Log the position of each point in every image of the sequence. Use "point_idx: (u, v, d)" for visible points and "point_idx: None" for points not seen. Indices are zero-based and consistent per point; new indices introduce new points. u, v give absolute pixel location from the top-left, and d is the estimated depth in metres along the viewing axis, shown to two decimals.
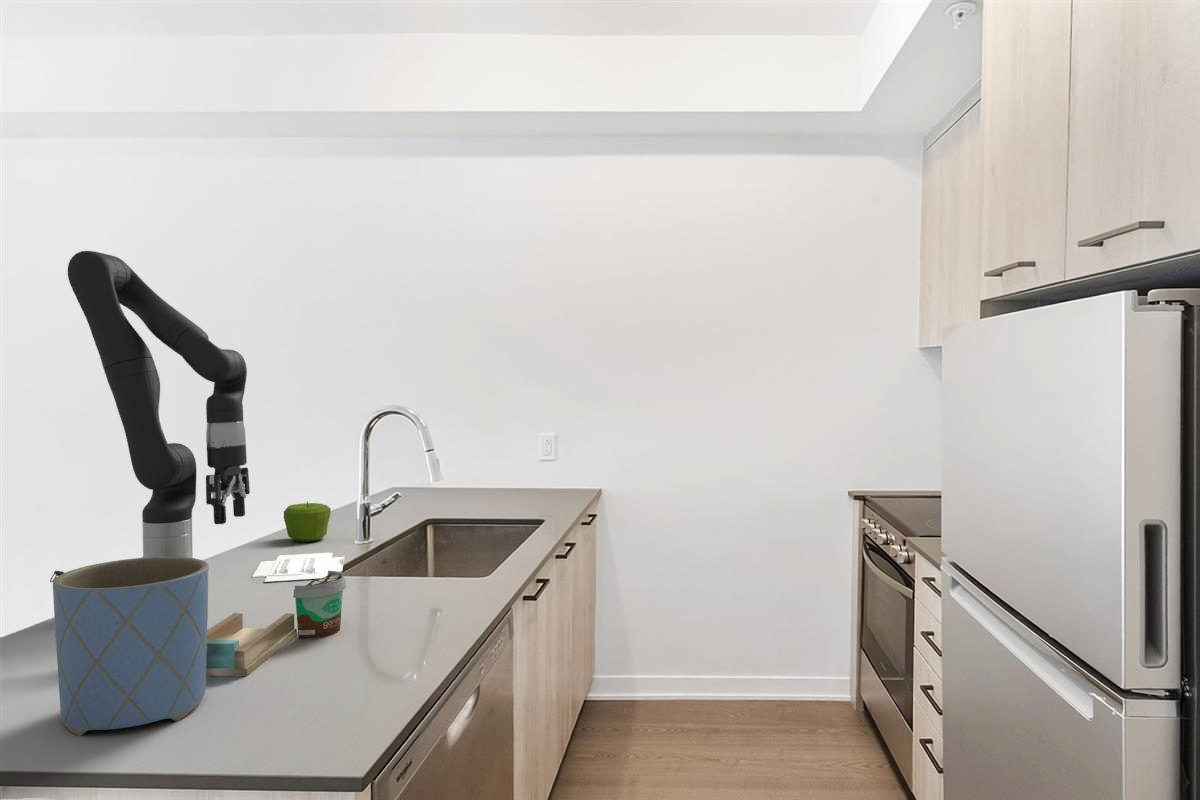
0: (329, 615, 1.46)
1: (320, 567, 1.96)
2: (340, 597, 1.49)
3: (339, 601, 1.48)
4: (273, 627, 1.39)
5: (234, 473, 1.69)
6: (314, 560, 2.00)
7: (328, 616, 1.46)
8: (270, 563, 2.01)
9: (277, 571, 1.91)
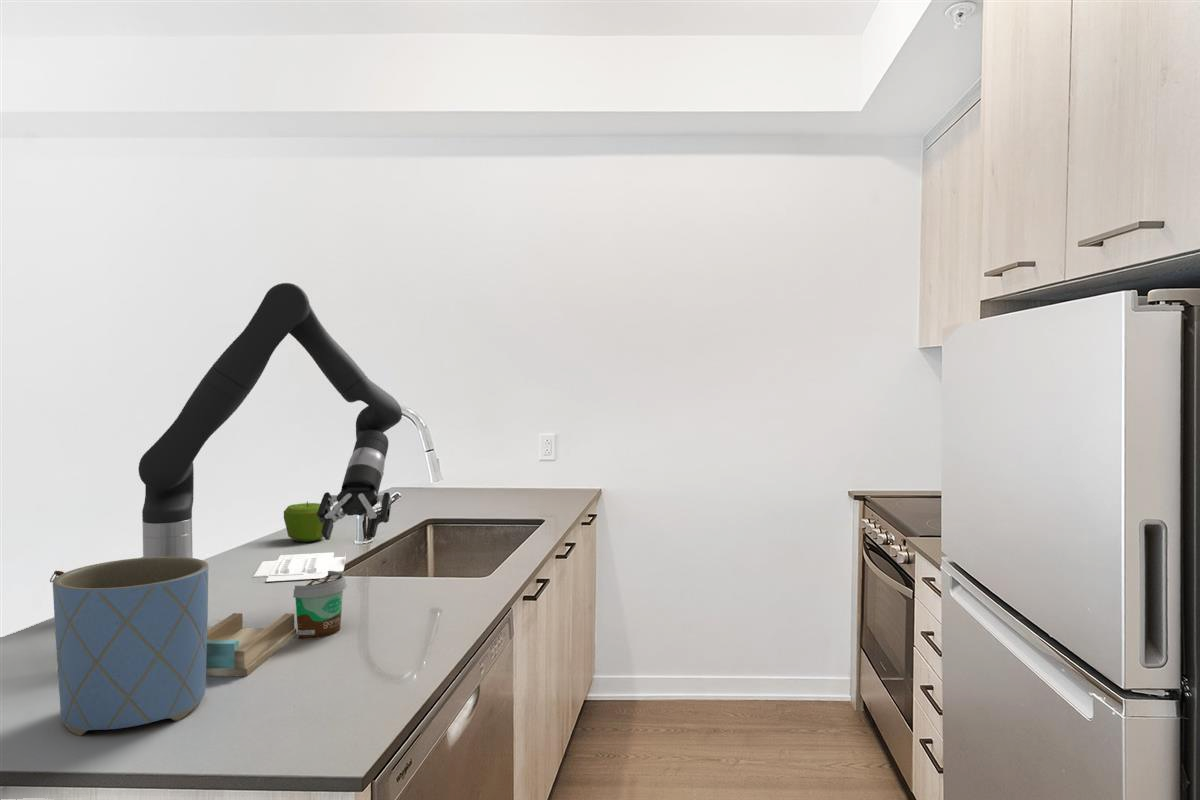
0: (329, 615, 1.46)
1: (321, 567, 1.96)
2: (340, 597, 1.49)
3: (339, 601, 1.48)
4: (273, 627, 1.39)
5: None
6: (315, 560, 2.01)
7: (328, 616, 1.46)
8: (271, 563, 2.01)
9: (278, 571, 1.91)
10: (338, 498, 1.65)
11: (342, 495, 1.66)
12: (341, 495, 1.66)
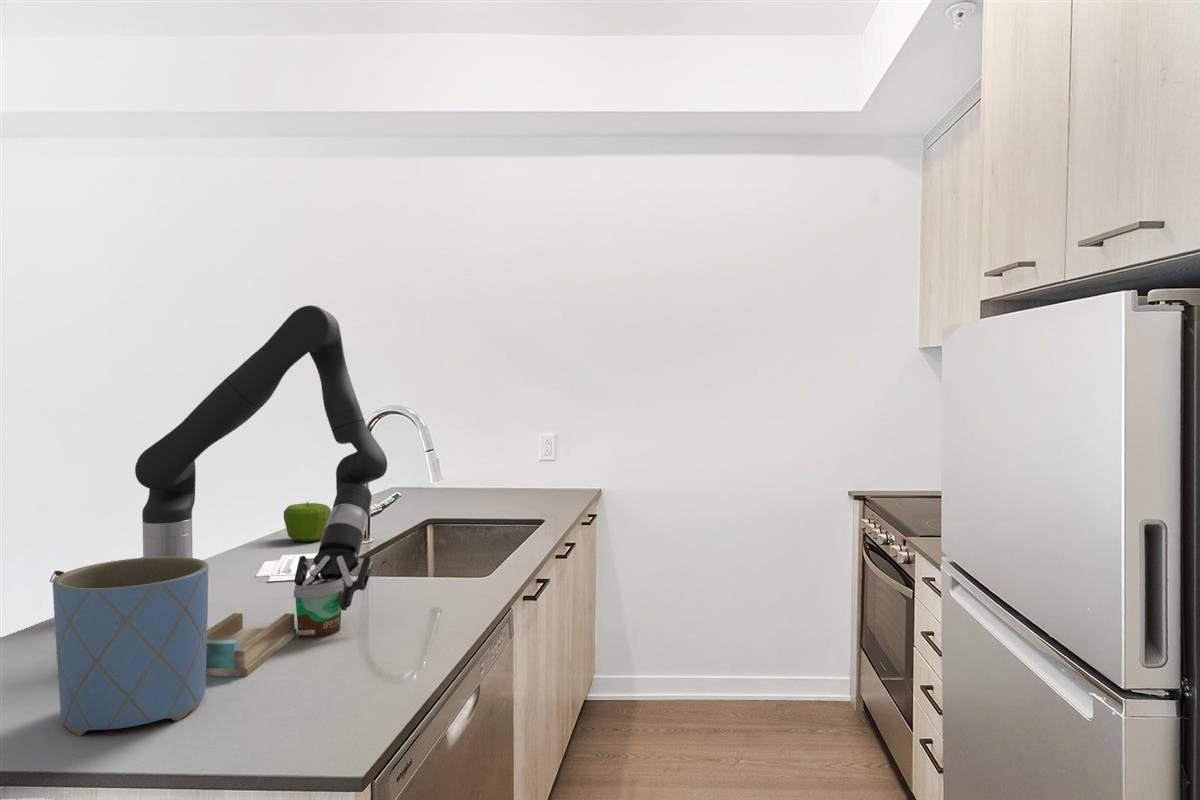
0: (329, 615, 1.46)
1: None
2: (340, 597, 1.49)
3: (339, 601, 1.48)
4: (273, 627, 1.39)
5: None
6: None
7: (328, 616, 1.46)
8: (274, 563, 2.02)
9: (280, 571, 1.91)
10: (315, 561, 1.53)
11: (319, 557, 1.53)
12: (318, 557, 1.53)
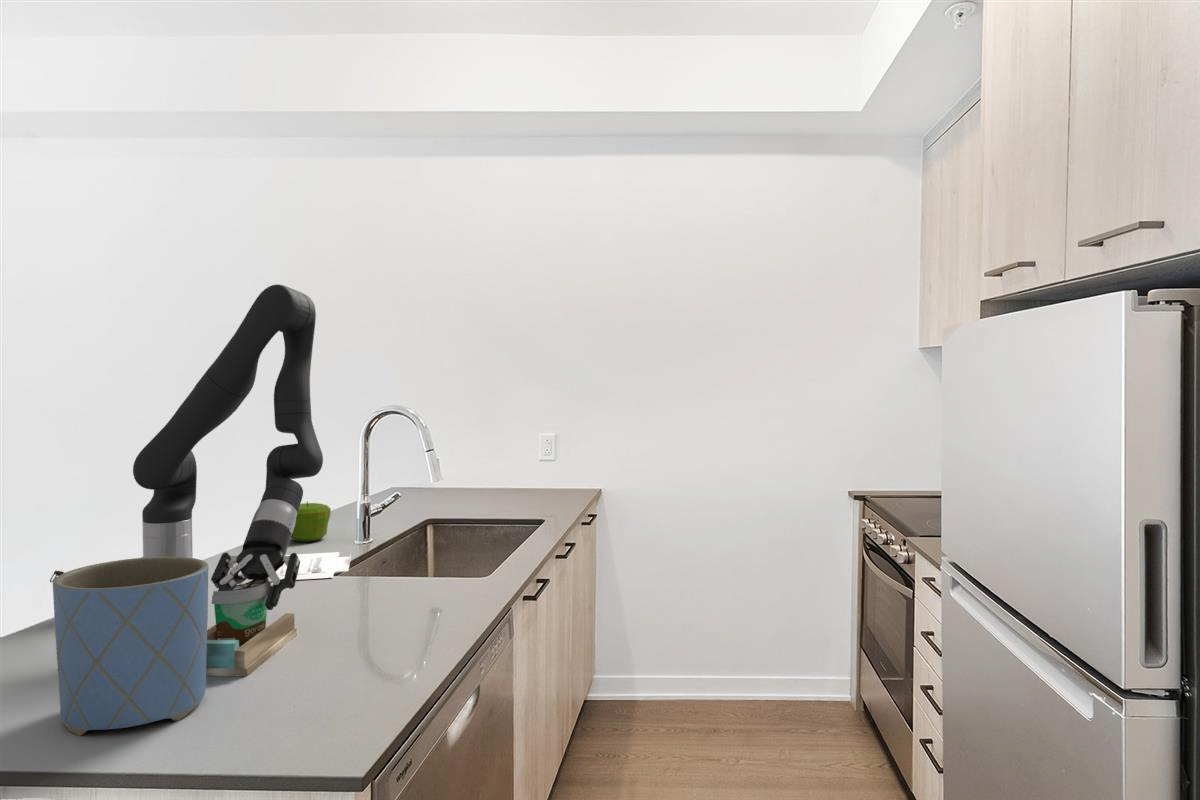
0: (251, 622, 1.38)
1: (326, 567, 1.97)
2: (264, 603, 1.41)
3: (263, 607, 1.40)
4: (273, 627, 1.39)
5: None
6: (321, 560, 2.01)
7: (250, 623, 1.38)
8: None
9: (284, 570, 1.91)
10: (238, 559, 1.44)
11: (242, 556, 1.45)
12: (241, 556, 1.45)
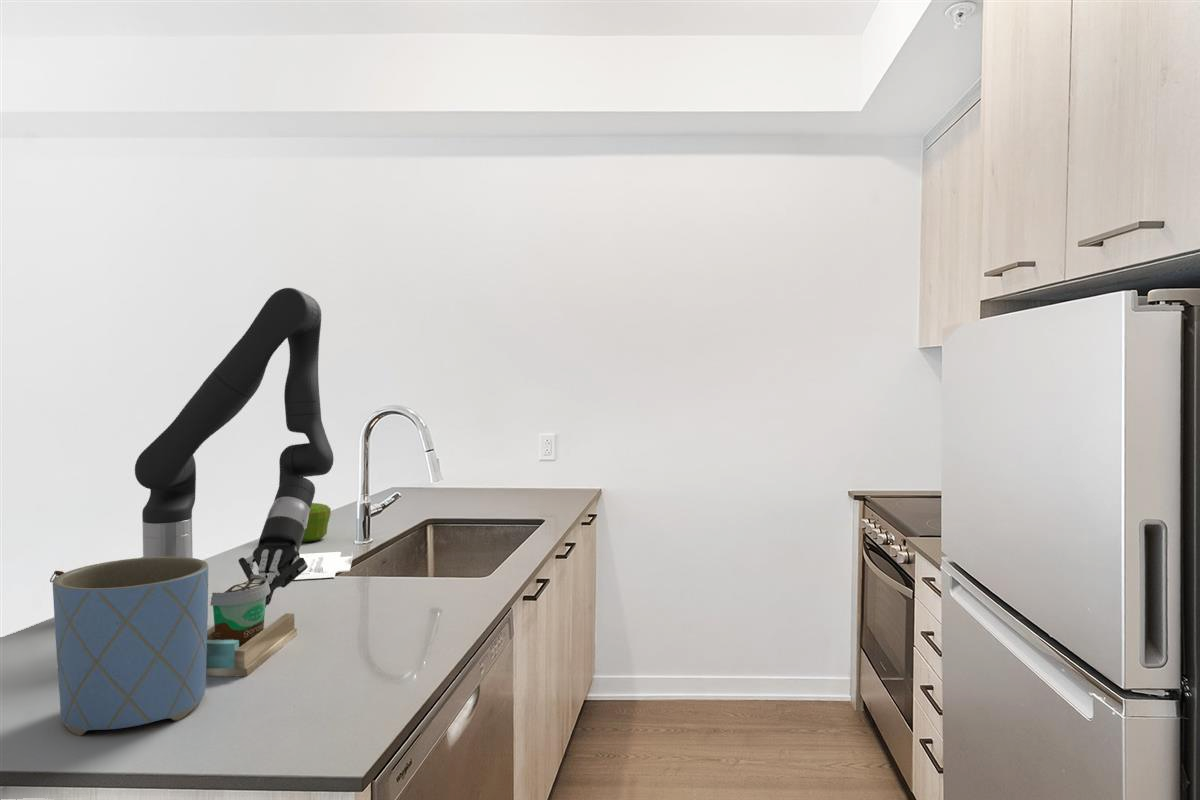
0: (250, 623, 1.37)
1: (328, 566, 1.97)
2: (263, 603, 1.40)
3: (262, 608, 1.40)
4: (273, 627, 1.39)
5: None
6: (322, 559, 2.01)
7: (249, 624, 1.37)
8: None
9: None
10: (257, 555, 1.50)
11: (258, 551, 1.51)
12: (257, 551, 1.51)
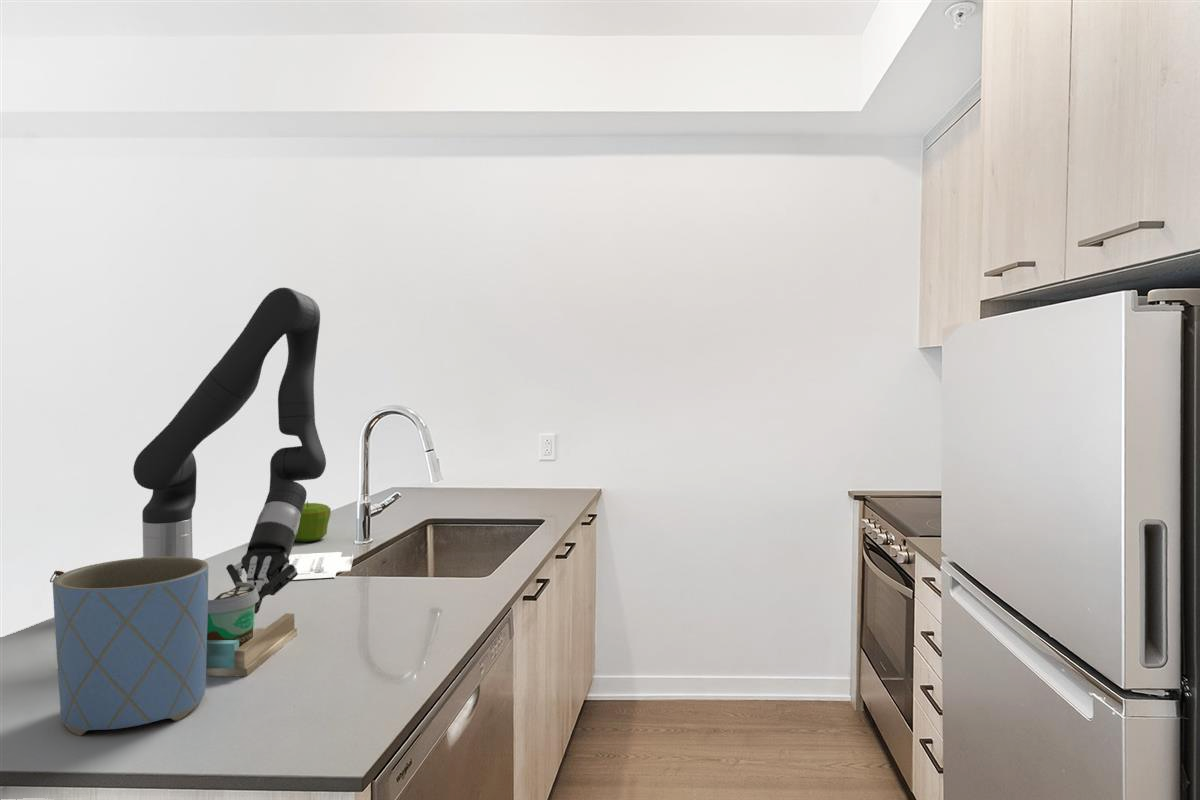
0: (241, 631, 1.33)
1: (329, 566, 1.97)
2: (253, 610, 1.36)
3: (252, 615, 1.36)
4: (273, 627, 1.39)
5: None
6: (323, 559, 2.01)
7: (240, 632, 1.33)
8: None
9: None
10: (245, 562, 1.46)
11: (247, 557, 1.46)
12: (246, 558, 1.46)
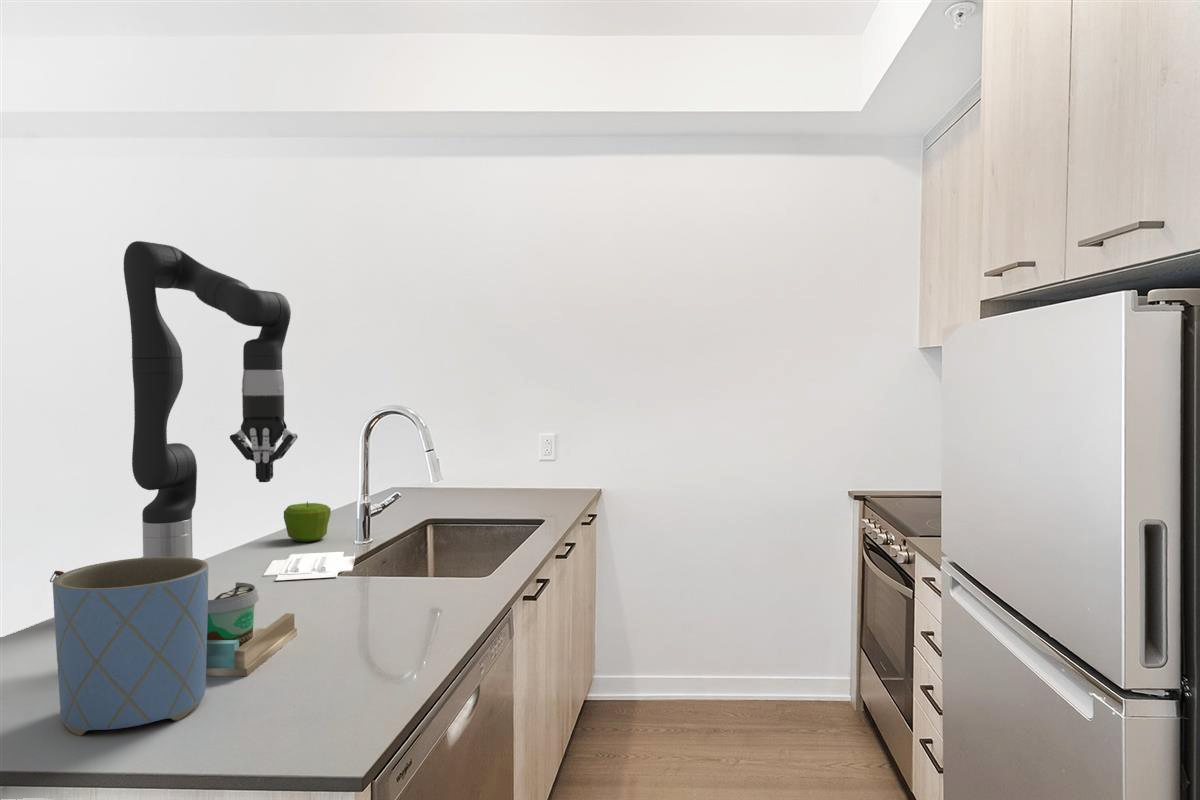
0: (241, 631, 1.33)
1: (331, 566, 1.97)
2: (252, 611, 1.36)
3: (252, 615, 1.36)
4: (273, 627, 1.39)
5: (264, 426, 1.54)
6: (325, 559, 2.01)
7: (240, 632, 1.33)
8: (282, 562, 2.02)
9: (288, 570, 1.92)
10: None
11: None
12: None
